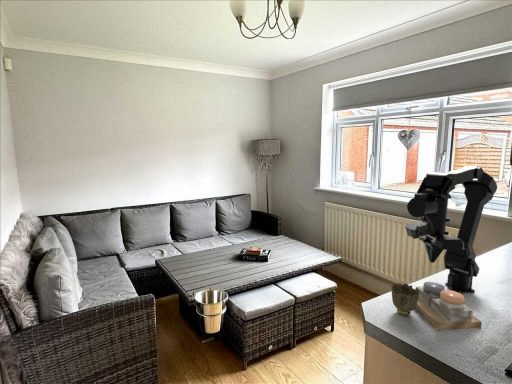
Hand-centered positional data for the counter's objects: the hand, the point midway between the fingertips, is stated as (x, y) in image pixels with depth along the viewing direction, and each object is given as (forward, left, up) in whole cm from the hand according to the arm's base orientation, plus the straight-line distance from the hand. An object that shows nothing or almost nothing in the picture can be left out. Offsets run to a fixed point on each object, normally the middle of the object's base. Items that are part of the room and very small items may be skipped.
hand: (431, 262), depth 96 cm
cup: (+12, +7, -13) cm, 19 cm away
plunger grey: (+1, +4, -11) cm, 11 cm away
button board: (+1, +7, -13) cm, 15 cm away
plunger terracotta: (+1, +12, -10) cm, 15 cm away
